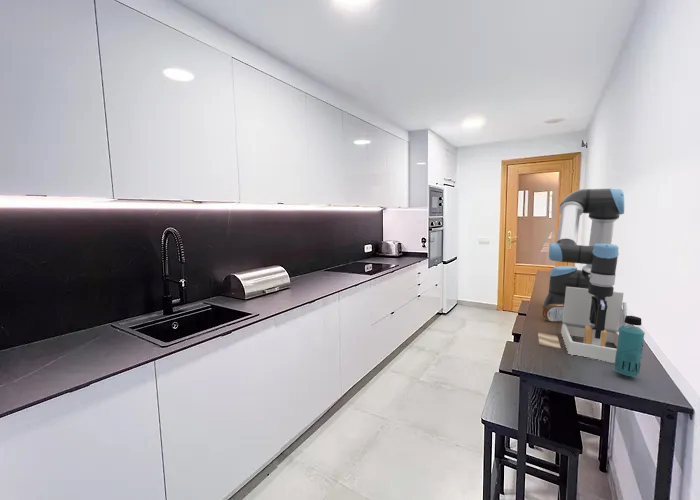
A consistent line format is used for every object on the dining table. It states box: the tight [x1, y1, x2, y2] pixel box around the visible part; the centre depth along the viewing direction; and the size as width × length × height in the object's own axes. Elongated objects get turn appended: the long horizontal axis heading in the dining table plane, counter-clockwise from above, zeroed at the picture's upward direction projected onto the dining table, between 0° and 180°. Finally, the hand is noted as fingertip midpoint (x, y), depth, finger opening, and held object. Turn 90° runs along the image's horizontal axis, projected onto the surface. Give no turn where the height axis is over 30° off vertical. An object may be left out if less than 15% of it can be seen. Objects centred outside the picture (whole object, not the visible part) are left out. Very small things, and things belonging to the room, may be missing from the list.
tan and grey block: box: [582, 325, 607, 347], centre depth 127 cm, size 5×6×8 cm
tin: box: [541, 304, 564, 323], centre depth 157 cm, size 15×3×8 cm, turn 97°
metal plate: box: [537, 332, 562, 350], centre depth 134 cm, size 14×7×1 cm, turn 153°
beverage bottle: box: [614, 315, 645, 377], centre depth 105 cm, size 6×7×20 cm
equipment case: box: [560, 287, 629, 364], centre depth 126 cm, size 23×21×21 cm
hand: (594, 342), depth 127 cm, fingers open, 5 cm apart
